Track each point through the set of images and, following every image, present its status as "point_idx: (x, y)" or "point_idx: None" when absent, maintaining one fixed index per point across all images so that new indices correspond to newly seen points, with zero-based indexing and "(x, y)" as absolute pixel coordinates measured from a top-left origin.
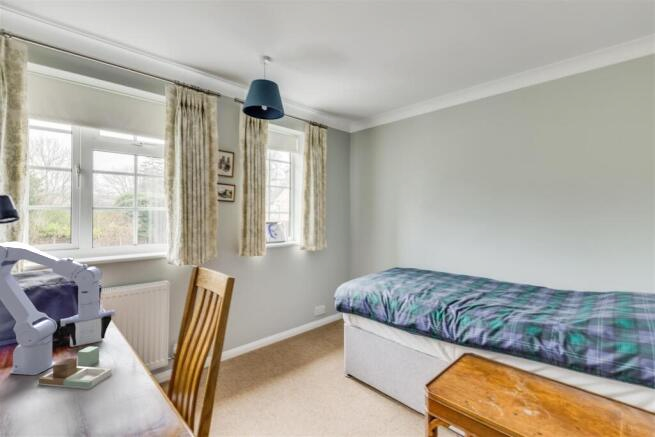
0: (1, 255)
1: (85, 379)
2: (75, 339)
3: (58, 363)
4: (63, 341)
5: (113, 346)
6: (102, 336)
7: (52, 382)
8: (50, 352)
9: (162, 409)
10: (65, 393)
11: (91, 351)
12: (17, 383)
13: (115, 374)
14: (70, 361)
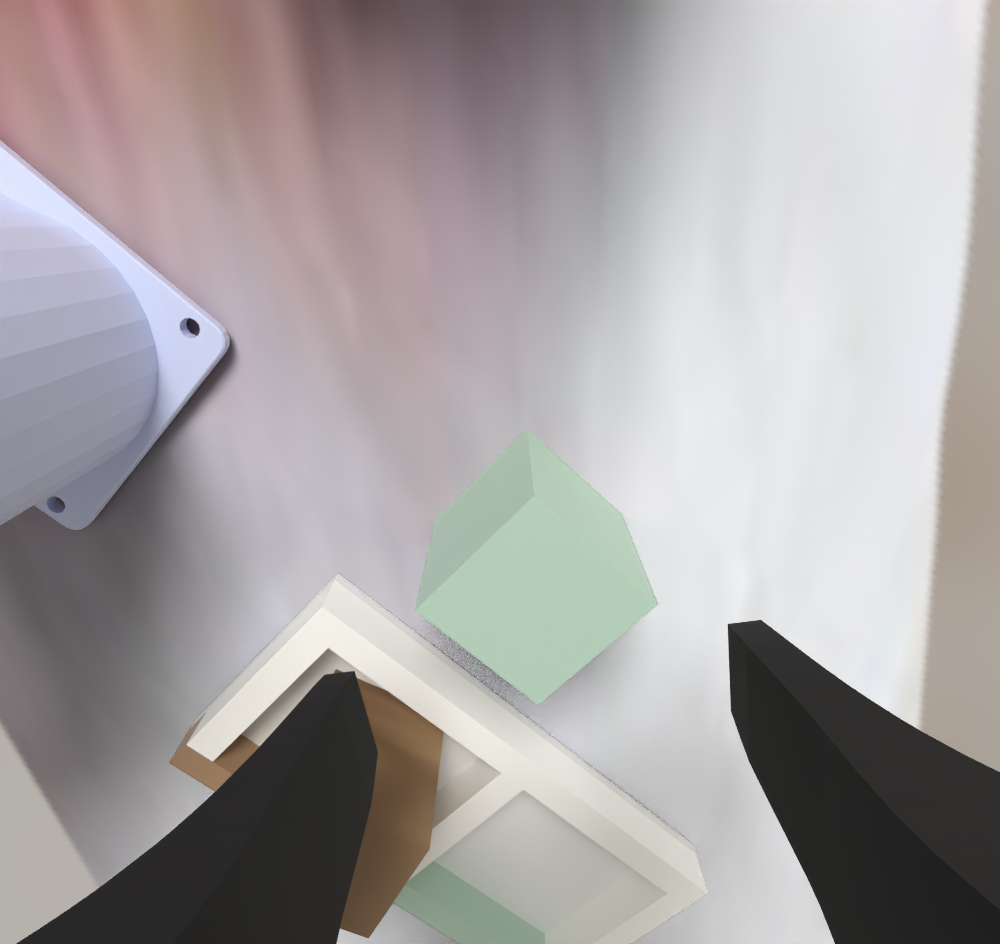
0: None
1: (519, 848)
2: (351, 866)
3: None
4: None
5: (829, 91)
6: (754, 754)
7: None
8: (49, 449)
9: None
10: (414, 926)
11: (567, 674)
12: (4, 601)
13: (718, 855)
14: (382, 894)
